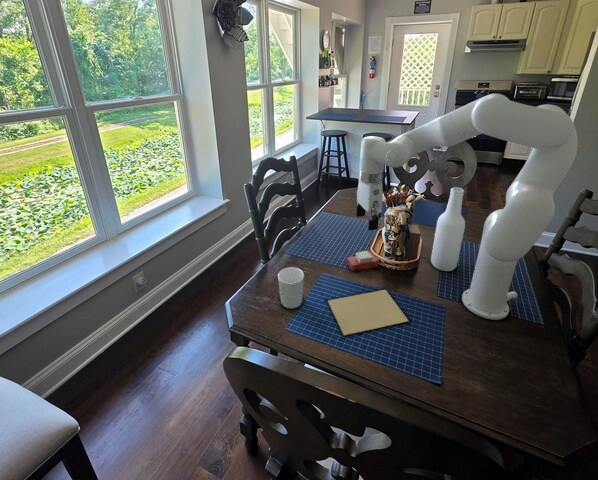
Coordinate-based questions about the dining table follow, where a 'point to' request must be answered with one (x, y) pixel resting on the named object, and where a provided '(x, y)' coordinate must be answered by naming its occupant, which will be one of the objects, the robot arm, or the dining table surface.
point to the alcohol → (449, 233)
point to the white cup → (291, 287)
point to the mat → (366, 312)
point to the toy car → (362, 261)
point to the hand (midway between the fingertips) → (366, 222)
